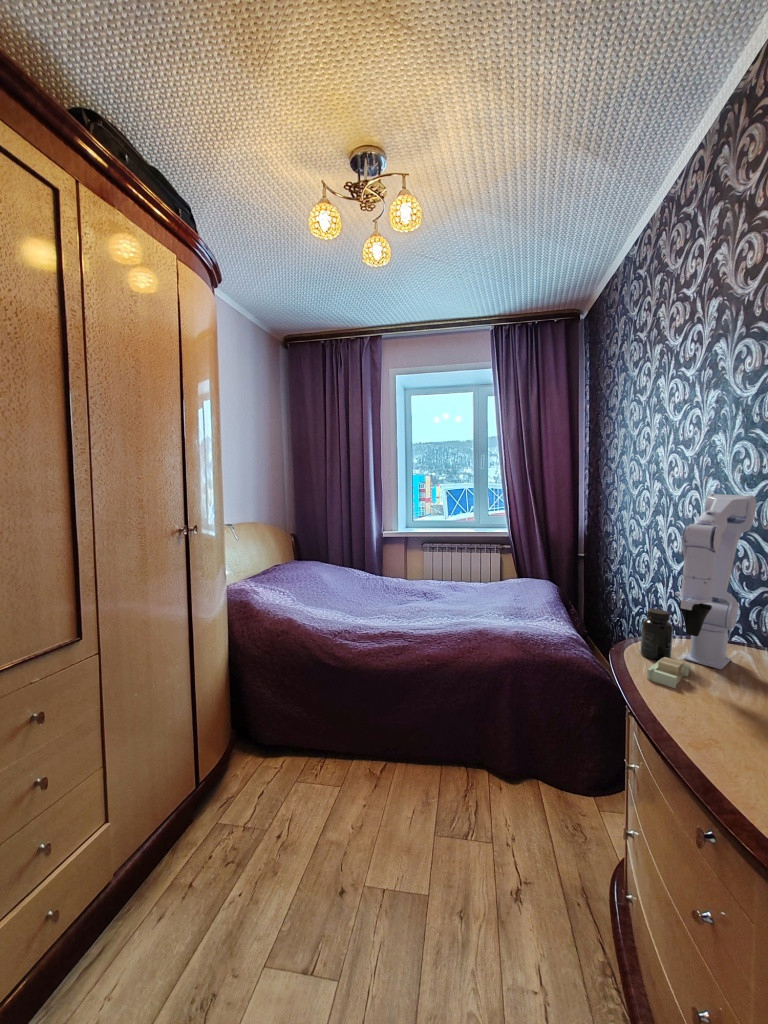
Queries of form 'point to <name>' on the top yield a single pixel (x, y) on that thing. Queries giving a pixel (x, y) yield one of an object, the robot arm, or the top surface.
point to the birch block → (671, 667)
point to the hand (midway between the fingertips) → (692, 634)
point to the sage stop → (665, 675)
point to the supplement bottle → (656, 635)
